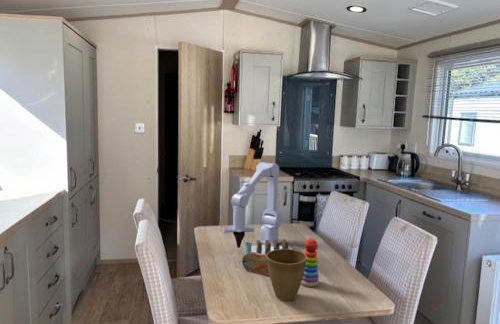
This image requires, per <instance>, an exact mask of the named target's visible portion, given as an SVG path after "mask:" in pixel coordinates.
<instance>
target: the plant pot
mask: <svg viewBox="0 0 500 324" xmlns="http://www.w3.org/2000/svg"><path fill="white" fill-rule="evenodd" d="M266 256H267V264H268V270H269V275H268V276H269V278H270V279H269V280H270V282H271V286H272V289H273V292H274V295H275V297H276V299H278V300H280V301H284V302H288V301H289V302H290V301H293V300H295V298H297V294H298V293H299V290H300V287H301V285H302V284H301V282H302V278H303V275H304V270H305V266H306V260H307V256H306V255H305V254H304V252H303V251H302V252H300V251H297V250H292V248H288V249H282V248H279V249H277V250H274V249H273V250H271V251H270V252H269V253H267V255H266Z"/></svg>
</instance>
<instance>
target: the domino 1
mask: <svg viewBox="0 0 500 324" xmlns="http://www.w3.org/2000/svg"><path fill="white" fill-rule="evenodd" d="M243 242H244V245H243V247H244V248H243V249H244V250H243V252H244V253H243V256H244V255H245V254H247V253H250V252H252V243H251V242H250V241H249V240H244V241H243Z"/></svg>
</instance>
